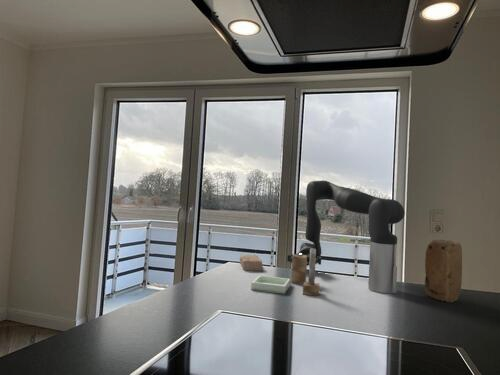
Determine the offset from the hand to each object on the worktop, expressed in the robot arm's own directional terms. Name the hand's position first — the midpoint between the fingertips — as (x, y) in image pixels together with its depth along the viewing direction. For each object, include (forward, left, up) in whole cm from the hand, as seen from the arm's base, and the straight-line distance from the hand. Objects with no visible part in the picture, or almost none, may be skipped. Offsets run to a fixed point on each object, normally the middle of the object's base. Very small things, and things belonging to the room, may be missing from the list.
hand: (302, 261), depth 146 cm
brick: (+24, -8, -7) cm, 26 cm away
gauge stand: (-6, +24, -6) cm, 26 cm away
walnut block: (0, +10, -6) cm, 12 cm away
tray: (+8, +23, -6) cm, 25 cm away
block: (-49, +11, -6) cm, 51 cm away
